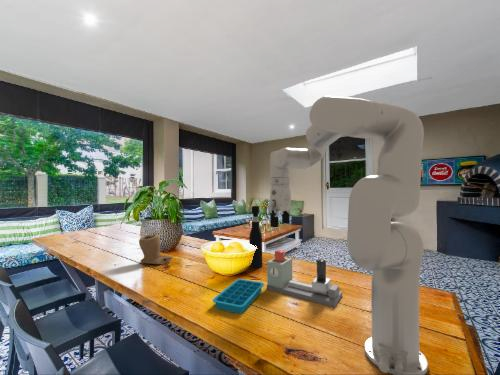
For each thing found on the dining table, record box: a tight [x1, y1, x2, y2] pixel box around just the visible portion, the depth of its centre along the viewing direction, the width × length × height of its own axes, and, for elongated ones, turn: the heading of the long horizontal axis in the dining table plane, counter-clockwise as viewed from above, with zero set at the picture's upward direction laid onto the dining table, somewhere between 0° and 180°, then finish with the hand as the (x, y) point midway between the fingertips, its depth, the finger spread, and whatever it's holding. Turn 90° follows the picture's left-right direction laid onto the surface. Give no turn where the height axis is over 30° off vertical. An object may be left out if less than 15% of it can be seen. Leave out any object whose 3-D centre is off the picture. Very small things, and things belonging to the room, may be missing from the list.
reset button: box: [274, 249, 286, 263], centre depth 97 cm, size 4×4×6 cm
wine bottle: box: [248, 205, 263, 269], centre depth 121 cm, size 6×6×30 cm
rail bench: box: [266, 256, 343, 308], centre depth 91 cm, size 10×26×10 cm, turn 56°
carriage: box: [311, 258, 332, 295], centre depth 87 cm, size 6×5×11 cm
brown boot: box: [138, 233, 173, 265], centre depth 128 cm, size 15×12×15 cm
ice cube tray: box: [212, 278, 265, 314], centre depth 87 cm, size 12×20×3 cm, turn 156°
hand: (280, 225), depth 97 cm, fingers open, 9 cm apart
